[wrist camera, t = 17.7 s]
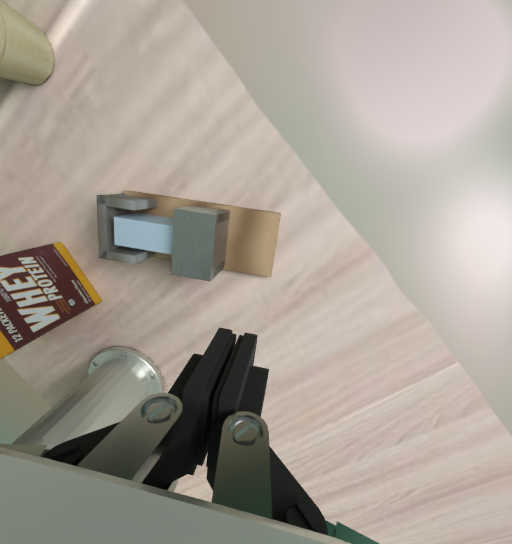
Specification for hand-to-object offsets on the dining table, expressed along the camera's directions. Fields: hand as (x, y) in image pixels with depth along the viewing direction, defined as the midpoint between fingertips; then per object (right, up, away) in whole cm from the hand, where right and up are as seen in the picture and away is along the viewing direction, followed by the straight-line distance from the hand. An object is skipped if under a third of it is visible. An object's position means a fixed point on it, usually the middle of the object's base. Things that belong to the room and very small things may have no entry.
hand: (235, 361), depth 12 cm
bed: (-6, +9, +25) cm, 27 cm away
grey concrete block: (-5, +8, +23) cm, 25 cm away
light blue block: (-10, +9, +24) cm, 27 cm away
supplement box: (-31, +1, +32) cm, 44 cm away
